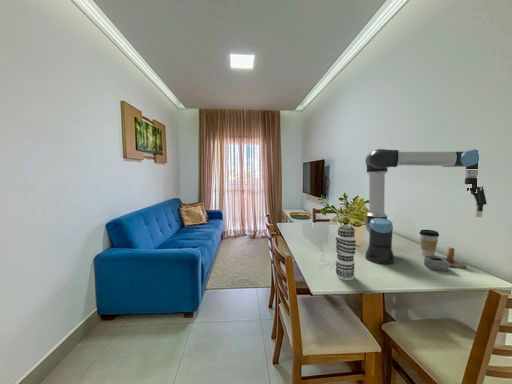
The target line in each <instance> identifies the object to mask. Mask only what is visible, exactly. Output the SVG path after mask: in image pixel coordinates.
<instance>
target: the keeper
mask: <svg viewBox="0 0 512 384" xmlns="http://www.w3.org/2000/svg"><path fill="white" fill-rule="evenodd" d="M444 259H445V260H446V261H448V262H449V268H455V269H467V266H466V265H464V264H463V263H461V262H460V261H458V260H457V259H455V248H454V247H447V250H446V258H444Z"/></svg>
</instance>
